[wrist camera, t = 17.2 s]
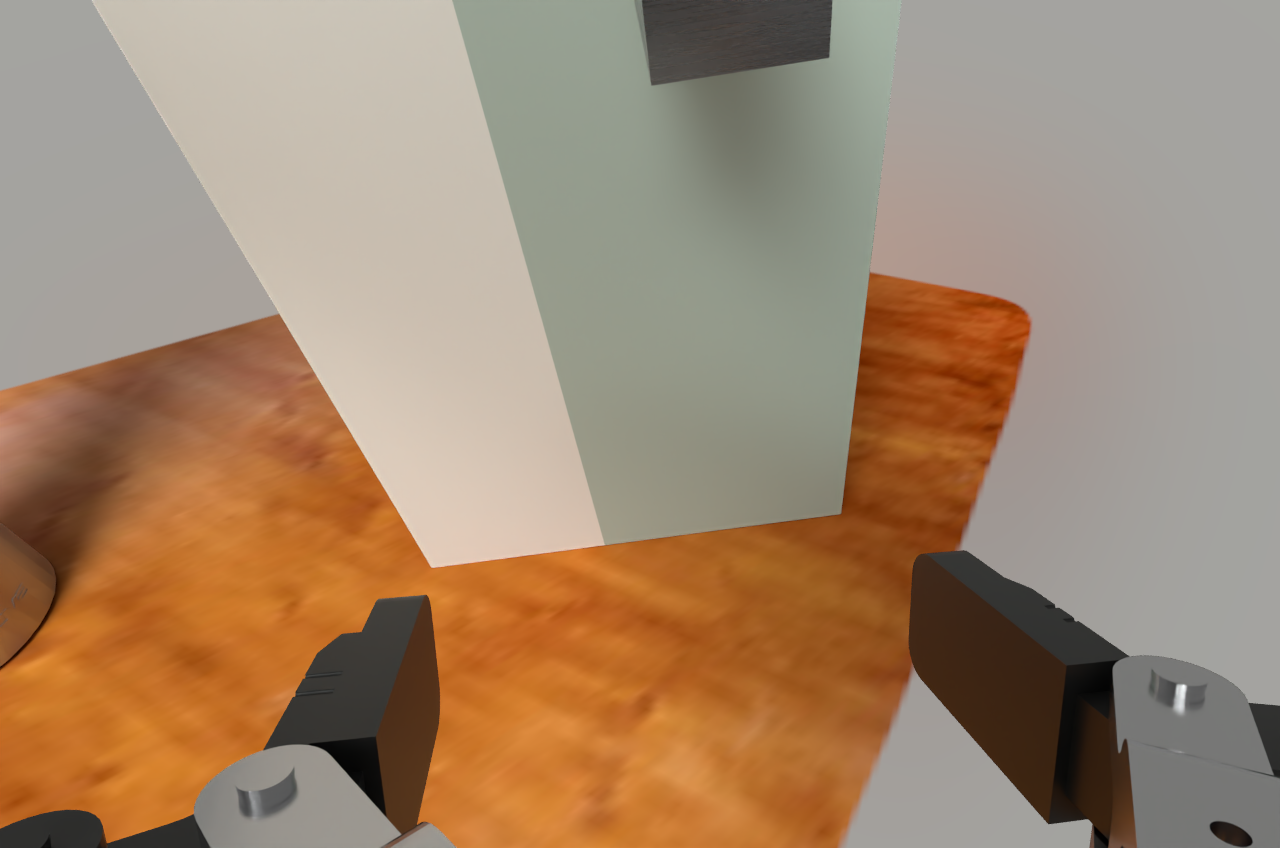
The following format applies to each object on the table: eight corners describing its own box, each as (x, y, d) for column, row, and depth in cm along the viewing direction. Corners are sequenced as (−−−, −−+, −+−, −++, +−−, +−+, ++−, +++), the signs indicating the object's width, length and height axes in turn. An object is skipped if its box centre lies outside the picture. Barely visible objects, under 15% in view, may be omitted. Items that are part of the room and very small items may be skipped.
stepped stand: (840, 514, 37) (958, -482, 14) (431, 568, 38) (-82, -289, 15) (777, 317, 48) (785, -421, 25) (461, 362, 49) (192, -312, 26)
